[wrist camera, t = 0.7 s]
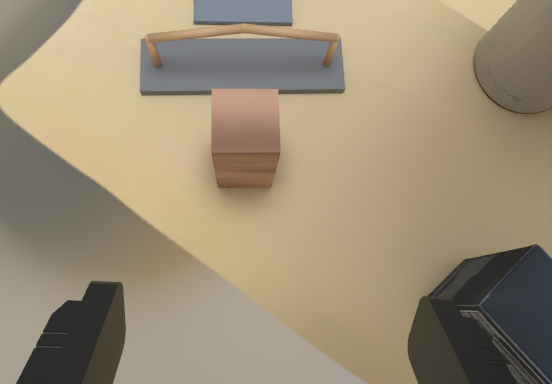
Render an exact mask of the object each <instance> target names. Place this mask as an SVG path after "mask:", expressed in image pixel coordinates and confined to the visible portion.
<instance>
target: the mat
mask: <svg viewBox="0 0 552 384" xmlns="http://www.w3.org/2000/svg"><path fill="white" fill-rule="evenodd" d="M243 23H246V24H254V25H286V26H292V3H291V0H194V24H224V25H234V24H243Z"/></svg>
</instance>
